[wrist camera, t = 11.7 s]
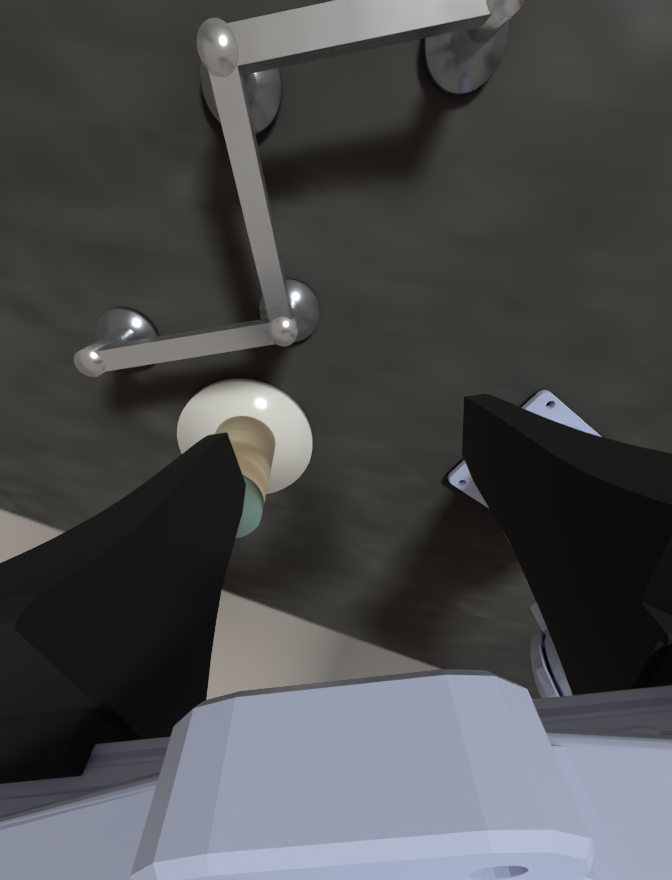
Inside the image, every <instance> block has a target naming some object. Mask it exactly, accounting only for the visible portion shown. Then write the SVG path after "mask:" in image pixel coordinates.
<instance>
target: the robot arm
mask: <svg viewBox="0 0 672 880" xmlns="http://www.w3.org/2000/svg"><path fill="white" fill-rule="evenodd" d="M550 401H552V402H551V404H550V405H548V406H546V404H547V403H548V402H550ZM462 454H463V457H464V460H463V461H462V462H461V463H460V464H459V465H458V466H457V467H456V468H455V469H454V470H452V471H451V472H450V473H449V475H448V480H449V482H450V483H451V484H452V485H453V486H455V487H456V488H458V489H460V490H461V491H463V492H464V493H466V494H467V495H469V496H470V497H472V498H474V499H475V500H477V501H478V502H480V503H481V504H483V505H484V506H486V507H488V508H489V509H490V511H491V512H492V514H493V516H494V517H495V519H496V521H497V522H498V524H499V526H500V527H501V529H502V531H503V533H504V534H505V536H506V538H507V540H508V542H509V543H510V545H511V547H512V549H513V551H514V552H515V554H516V557H517V559H518V561H519V563H520V566H521V568H522V570H523V572H524V574H525V577H526V579H527V581H528V583H529V586H530V588H531V590H532V593H533V595H534V597H535V600H536V603H535V604H534V605H533V606H531V610H532V612H533V614H534V616H535V618H536V620H537V622H538V624H539V626H540V628H541V631H540V632H538V633H536V634H535V635H534V637H533V638H532V641H531V643H530V655H531V662H532V668H533V674H534V678H535V682H536V685H537V688H538V690H539V693H540V695H541V698H542V699H531V697H530V694H529V692H528V690H527V689H526V688H524V687H522V686H520V685H518V684H516V683H515V682H512V681H510V680H507V679H505V678H503V677H500V676H498V675H496V674H493V673H491V672H489V671H486V670H451V669H442V670H432V671H424V672H414V673H405V674H396V675H386V676H378V677H369V678H360V679H349V680H340V681H332V682H322V683H313V684H303V685H294V686H285V687H276V688H267V689H258V690H249V691H240V692H236V693H232V694H228V695H224V696H220V697H217V698H213V699H209V700H206V697H207V688H208V679H209V670H210V661H211V653H212V646H213V639H214V632H215V625H216V619H217V613H218V607H219V600H220V594H221V589H222V585H223V581H224V576H225V573H226V569H227V566H228V562H229V559H230V555H231V552H232V548H233V545H234V541H235V538H236V534H237V531H238V527H239V523H240V520H241V516H242V512H243V506H244V498H245V489H246V483H245V480H244V477H243V475H242V472H241V469H240V466H239V463H238V461H237V458H236V455H235V452H234V450H233V447H232V444H231V441H230V438H229V436H228V433H227V432H225V433H219V434H212V435H207V436H206V437H204V438H202V439H201V440H200V441H198V442H197V443H196V444H194V445H193V446H192V447H190V448H189V449H188V450H187V451H185V452H184V453H183V454H182V455H180V456H179V457H178V458H177V459H175V460H174V461H173V462H171V463H170V464H169V465H168V466H166V467H165V468H164V469H163V470H161V471H160V472H159V473H157V474H156V475H155V476H153V477H152V478H151V479H149V480H148V481H147V482H145V483H144V484H143V485H141V486H140V487H138V488H137V489H136V490H134V491H133V492H132V493H130V494H129V495H127V496H126V497H124V498H123V499H121V500H120V501H118V502H117V503H115V504H113V505H112V506H110V507H109V508H107V509H105V510H104V511H102V512H101V513H99V514H97V515H96V516H94V517H92V518H90V519H89V520H87V521H85V522H83V523H81V524H79V525H77V526H76V527H74V528H72V529H70V530H68V531H66V532H65V533H63V534H61V535H59V536H57V537H55V538H53V539H52V540H49V541H47V542H45V543H43V544H41V545H39V546H37V547H35V548H33V549H31V550H29V551H26V552H24V553H22V554H20V555H18V556H15V557H13V558H11V559H9V560H7V561H4V562H2V563H0V880H672V454H671V453H666V452H662V451H657V450H652V449H647V448H642V447H638V446H634V445H630V444H626V443H622V442H618V441H614V440H611V439H607V438H604V437H601V436H600V435H599V434H598V433H597V432H595V431H594V430H593V429H592V428H591V427H590V426H589V425H587V424H586V423H585V422H584V421H583V420H582V419H581V418H579V417H578V416H577V415H576V414H575V413H574V412H572V411H571V410H570V409H569V408H568V407H567V406H566V405H564V404H563V403H562V402H561V401H560V400H559V399H558V398H556V397H555V396H554V395H553V394H552V393H551V392H549V391H547V390H542V391H539V392H538V393H537V394H536V395H534V396H533V397H532V398H531V399H530V400H529V401H528V402H527V403H526V404H525V405H524V406H522V407H518V406H516V405H514V404H511V403H509V402H507V401H504V400H502V399H499V398H497V397H494V396H491V395H488V394H481V395H474V396H467V397H464V420H463V448H462ZM461 480H464V481H462V482H459V481H461Z"/></svg>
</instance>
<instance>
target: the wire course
mask: <svg viewBox="0 0 672 880" xmlns="http://www.w3.org/2000/svg"><path fill="white" fill-rule="evenodd" d="M524 2H525V0H335V1H331V2H326V3H321V4H316V5H312V6H307V7H302V8H298V9H293V10H288V11H283V12H279V13H274V14H269V15H265V16H260V17H255V18H250V19H246V20H241V21H236V22H232V23H226V22H224V21H223V20H221V19H218V18H210V19H208V20H206V21H205V22H204V23H203V24H202V25H201V27H200V29H199V31H198V35H197V49H198V53H199V56H200V58H201V60H202V61H201V68H200V78H201V86H202V91H203V94H204V98H205V100H206V103H207V105H208V107H209V109H210V111H211V112H212V114H213V115H214V116H215V118H216V119H217V120H218V121H219V122H220V123H221V125H222V129H223V133H224V137H225V141H226V146H227V150H228V154H229V158H230V162H231V166H232V170H233V174H234V178H235V182H236V186H237V191H238V195H239V199H240V203H241V207H242V211H243V215H244V219H245V223H246V227H247V232H248V236H249V240H250V244H251V248H252V252H253V256H254V260H255V264H256V268H257V273H258V277H259V281H260V285H261V289H262V293H263V296H262V298H261V301H260V306H259V312H260V318H261V319H260V320H254V321H248V322H242V323H236V324H230V325H224V326H218V327H212V328H206V329H200V330H194V331H188V332H182V333H176V334H170V335H164V336H159V333H158V331H157V329H156V327H155V326H154V324H153V323H152V322H151V321H150V320H149V318H147V317H146V316H145V315H144V314H142V313H141V312H139V311H137V310H134V309H131V308H127V307H117V308H113V309H111V310H109V311H107V312H105V313H103V314H102V315H101V316H100V318H99V319H98V321H97V324H96V337H97V340H98V341H96V342H94V343H92V344H91V345H89V346H87V347H85V348H84V349H82V350H80V351H78V352H77V353H76V354H75V356H74V363H75V366H76V367H77V369H78V370H79V371H80V372H81V373H83V374H84V375H87V376H90V377H97V376H100V375H101V374H103V373H104V372H105V371H112V370H118V369H124V368H130V367H141V366H145V365H149V364H155V363H161V362H167V361H174V360H180V359H186V358H192V357H198V356H205V355H211V354H217V353H223V352H229V351H236V350H242V349H248V348H254V347H260V346H267V345H273V344H276V345H279V346H289V345H291V344H292V343H293V342H297V341H300V340H303V339H305V338H307V337H308V336H309V335H310V334H312V332H313V331H314V330H315V328H316V327H317V324H318V321H319V316H320V307H319V302H318V299H317V297H316V295H315V293H314V292H313V291H312V289H311V288H310V287H309V286H307V285H306V284H305V283H303V282H301V281H299V280H296V279H285V274H284V270H283V265H282V260H281V255H280V250H279V246H278V241H277V236H276V231H275V227H274V222H273V217H272V212H271V207H270V203H269V198H268V193H267V188H266V183H265V179H264V174H263V169H262V164H261V160H260V155H259V150H258V145H257V140H256V136H255V135H258V134H260V133H262V132H264V131H265V130H267V129H268V128H269V127H270V126H271V124H272V123H273V122H274V120H275V118H276V116H277V114H278V111H279V108H280V104H281V97H282V85H281V78H280V73H279V70H278V68H281V67H286V66H291V65H296V64H301V63H305V62H310V61H315V60H320V59H325V58H330V57H335V56H340V55H345V54H350V53H355V52H359V51H364V50H369V49H374V48H379V47H384V46H389V45H394V44H399V43H404V42H409V41H413V40H418V39H423V38H424V43H423V54H424V62H425V66H426V70H427V73H428V75H429V77H430V79H431V81H432V82H433V83H434V85H435V86H436V87H437V88H438V89H439V90H441V91H442V92H444V93H446V94H448V95H452V96H461V95H465V94H468V93H470V92H472V91H474V90H476V89H477V88H478V87H480V86H481V85H482V84H483V83H484V82H486V81H487V80H488V78H489V77H490V76H491V75H492V74H493V72H494V71H495V69H496V68H497V66H498V64H499V62H500V60H501V58H502V56H503V53H504V50H505V47H506V42H507V38H508V26H509V20H510V19H511V18H512V17H513V15H514V14H515V13H516V12H517V11H518V10H519V9H520V8H521V7H522V5H523V4H524Z"/></svg>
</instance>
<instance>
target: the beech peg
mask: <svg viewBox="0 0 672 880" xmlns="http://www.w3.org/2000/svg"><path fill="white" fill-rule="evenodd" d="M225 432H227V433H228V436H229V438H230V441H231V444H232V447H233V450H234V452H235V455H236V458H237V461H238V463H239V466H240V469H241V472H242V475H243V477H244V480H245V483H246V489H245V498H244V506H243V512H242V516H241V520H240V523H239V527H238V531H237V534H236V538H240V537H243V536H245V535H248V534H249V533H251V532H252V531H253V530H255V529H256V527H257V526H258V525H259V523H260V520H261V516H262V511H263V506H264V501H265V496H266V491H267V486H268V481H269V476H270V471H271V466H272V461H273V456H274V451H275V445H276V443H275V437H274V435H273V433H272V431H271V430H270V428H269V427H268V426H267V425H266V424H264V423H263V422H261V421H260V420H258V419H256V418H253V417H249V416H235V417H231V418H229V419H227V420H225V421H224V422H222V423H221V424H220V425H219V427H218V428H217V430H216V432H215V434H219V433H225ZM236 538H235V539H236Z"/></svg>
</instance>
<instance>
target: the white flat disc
mask: <svg viewBox="0 0 672 880" xmlns="http://www.w3.org/2000/svg"><path fill="white" fill-rule="evenodd" d="M235 416H249V417H253V418H256V419H258V420H260V421H261V422H263V423H264V424H266V425H267V426H268V427H269V428H270V430H271V431H272V433H273V435H274V437H275V443H276V445H275V451H274V456H273V461H272V466H271V471H270V476H269V481H268V486H267V491H266V494H270V493H273V492H277V491H279V490H282V489H284V488H286V487H287V486H289V485H291V484H292V483H293V482H295V481H296V480H297V479H298V478H299V477H300V476H301V475H302V473H303V472H304V471H305V469H306V467H307V465H308V463H309V461H310V458H311V453H312V430H311V427H310V423H309V421H308V419H307V416H306V415H305V413H304V411H303V410H302V408H301V407H300V406H299V405H298V404H297V402H296V401H295V400H293V399H292V398H291V397H290V396H289V395H288V394H286V393H285V392H283V391H282V390H280V389H278V388H277V387H275V386H273V385H270V384H268V383H265V382H262V381H258V380H253V379H246V378H234V379H226V380H221V381H218V382H215V383H212V384H210V385H208V386H206V387H204V388H203V389H201V390H200V391H199V392H197V393H196V394H195V395H194V396H193V397H192V398H191V399H190V401H189V402H188V404H187V405H186V406H185V408H184V409H183V411H182V413H181V415H180V418H179V421H178V426H177V440H178V445H179V448H180V451H181V454H183V453H184V452H185V451H187V450H188V449H189V448H190V447H192V446H193V445H194V444H196V443H197V442H198V441H200V440H201V439H202V438H204V437H206V436H207V435H212V434H215V432H216V430H217V428H218V427H219V425H220V424H221V423H222V422H224V421H225V420H227V419H229V418H231V417H235Z"/></svg>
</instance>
